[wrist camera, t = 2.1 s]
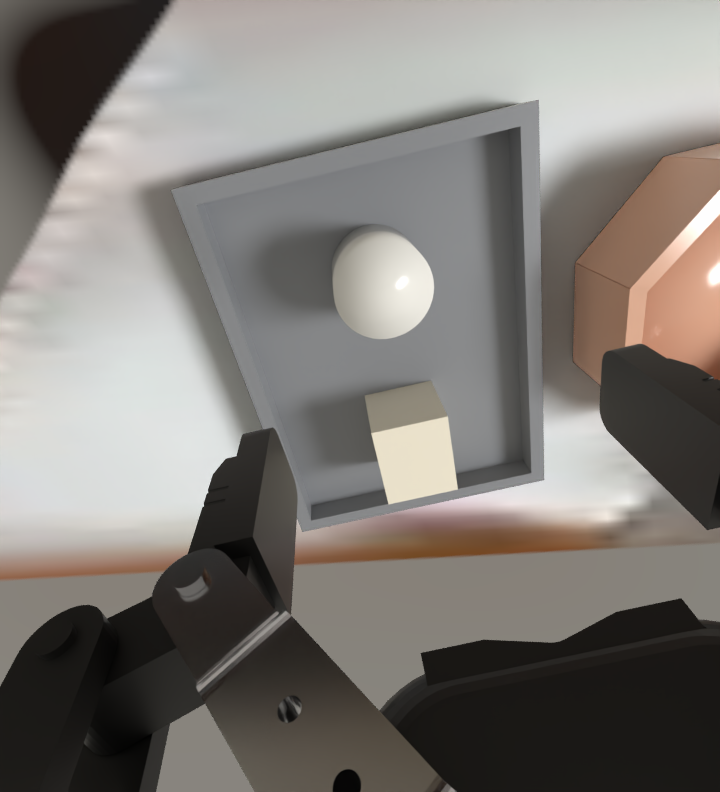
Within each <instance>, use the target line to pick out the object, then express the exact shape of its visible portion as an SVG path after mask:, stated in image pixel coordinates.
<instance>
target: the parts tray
mask: <svg viewBox="0 0 720 792" xmlns="http://www.w3.org/2000/svg"><path fill="white" fill-rule="evenodd" d="M171 192H172V194H173V197H174V200H175V202H176V205H177V207H178V210H179V213H180V215H181V218H182V220H183V223H184V226H185V228H186V231H187V233H188V236H189V239H190V241H191V244H192V246H193V249H194V252H195V254H196V257H197V259H198V262H199V265H200V267H201V270H202V272H203V275H204V277H205V280H206V283H207V285H208V288H209V290H210V293H211V296H212V298H213V301H214V303H215V306H216V309H217V311H218V314H219V316H220V319H221V322H222V324H223V327H224V329H225V332H226V335H227V337H228V340H229V342H230V345H231V348H232V350H233V353H234V355H235V358H236V361H237V363H238V366H239V368H240V371H241V374H242V376H243V379H244V381H245V384H246V387H247V389H248V392H249V394H250V397H251V400H252V402H253V405H254V407H255V410H256V413H257V415H258V418H259V420H260V423H261V426H262V428H263V429H268V428H272V427H273V428H274V429H275V430H276V432H277V434H278V436H279V439H280V441H281V444H282V447H283V449H284V452H285V455H286V457H287V460H288V463H289V465H290V468H291V471H292V474H293V476H294V480H295V484H296V489H297V497H298V503H297V519H298V522H299V524H300V527H301V529H302V532H304V531H309V530H314V529H318V528H323V527H328V526H332V525H337V524H342V523H346V522H351V521H356V520H360V519H365V518H370V517H374V516H379V515H384V514H388V513H393V512H398V511H402V510H407V509H411V508H416V507H421V506H425V505H430V504H435V503H439V502H444V501H449V500H453V499H458V498H463V497H467V496H472V495H477V494H481V493H486V492H491V491H495V490H500V489H505V488H509V487H514V486H518V485H523V484H528V483H532V482H537V481H542V480H544V439H543V367H542V296H541V225H540V154H539V100H536V101H530V102H525V103H520V104H515V105H511V106H507V107H503V108H499V109H495V110H491V111H487V112H483V113H479V114H475V115H470V116H466V117H462V118H458V119H454V120H450V121H446V122H442V123H438V124H434V125H430V126H426V127H421V128H417V129H413V130H409V131H405V132H401V133H397V134H393V135H389V136H385V137H381V138H377V139H372V140H368V141H364V142H360V143H356V144H352V145H348V146H344V147H340V148H336V149H332V150H328V151H323V152H319V153H315V154H311V155H307V156H303V157H299V158H295V159H291V160H287V161H283V162H278V163H274V164H270V165H266V166H262V167H258V168H254V169H250V170H246V171H242V172H238V173H234V174H229V175H225V176H221V177H217V178H213V179H209V180H205V181H201V182H197V183H193V184H189V185H185V186H181V187H178V188H175V189H172V190H171ZM370 224H381V225H386V226H390V227H392V228H394V229H396V230H398V231H399V232H401V233H402V234H403V235H404V236H405V237H406V238H407V239H408V240H409V241H410V242H411V243H412V245H413V246H414V247H415V248H416V249H417V250H418V251H419V252H420V254H421V255H422V256H423V257H424V258H425V260H426V261H427V263H428V265H429V267H430V269H431V272H432V275H433V280H434V294H433V299H432V302H431V305H430V308H429V310H428V312H427V313H426V315H425V317H424V318H423V319H422V320H421V322H420V323H419V324H418V325H416V326H415V327H414V328H413V329H411V330H410V331H408V332H407V333H405V334H403V335H400V336H398V337H394V338H389V339H373V338H369V337H366V336H363V335H361V334H359V333H357V332H355V331H354V330H352V329H351V328H350V327H349V326H348V325H347V324H346V323H345V322H344V321H343V320H342V318H341V317H340V315H339V313H338V311H337V308H336V305H335V301H334V294H333V283H332V270H331V267H332V260H333V256H334V253H335V250H336V248H337V247H338V245H339V243H340V242H341V241H342V240H343V238H344V237H345V236H346V235H348V234H349V233H350V232H352V231H353V230H355V229H357V228H359V227H362V226H365V225H370ZM427 381H432V384H433V386H434V388H435V390H436V392H437V394H438V396H439V399H440V401H441V403H442V405H443V407H444V409H445V411H446V414H447V416H448V422H449V429H450V436H451V443H452V450H453V458H454V465H455V472H456V479H457V487H458V490H453V491H449V492H444V493H439V494H435V495H430V496H425V497H421V498H416V499H412V500H407V501H402V502H398V503H393V504H388V500H387V496H386V492H385V488H384V484H383V480H382V475H381V471H380V467H379V463H378V459H377V455H376V451H375V447H374V443H373V438H372V434H371V429H370V423H369V418H368V412H367V407H366V401H365V395H369V394H374V393H378V392H383V391H387V390H391V389H396V388H400V387H405V386H409V385H414V384H418V383H423V382H427Z"/></svg>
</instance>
